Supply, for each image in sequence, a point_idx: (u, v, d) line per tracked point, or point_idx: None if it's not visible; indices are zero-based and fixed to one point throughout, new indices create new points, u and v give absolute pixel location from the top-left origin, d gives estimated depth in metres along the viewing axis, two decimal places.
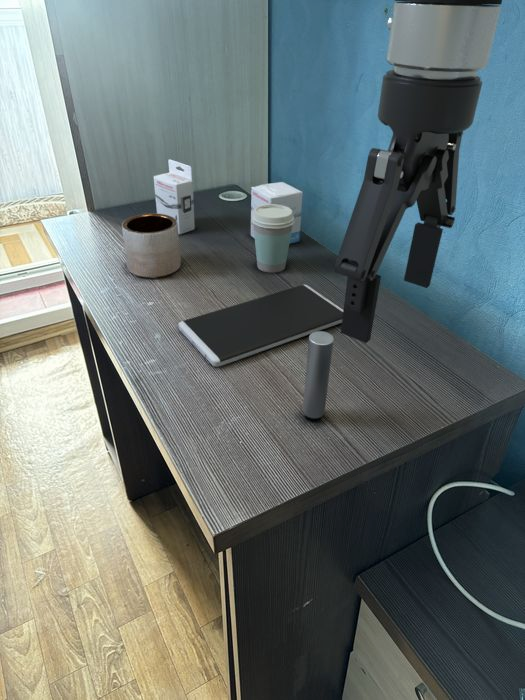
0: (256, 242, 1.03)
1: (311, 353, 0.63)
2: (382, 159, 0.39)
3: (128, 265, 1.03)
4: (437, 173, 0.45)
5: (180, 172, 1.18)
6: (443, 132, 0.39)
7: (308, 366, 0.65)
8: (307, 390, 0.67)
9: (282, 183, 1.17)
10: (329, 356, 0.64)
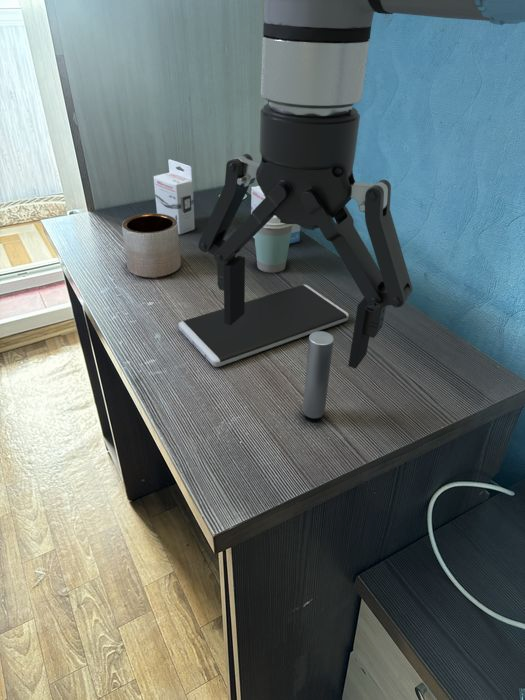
0: (256, 242, 1.03)
1: (311, 353, 0.63)
2: None
3: (128, 265, 1.03)
4: None
5: (180, 172, 1.18)
6: (264, 158, 0.40)
7: (308, 366, 0.65)
8: (307, 390, 0.67)
9: None
10: (329, 356, 0.64)
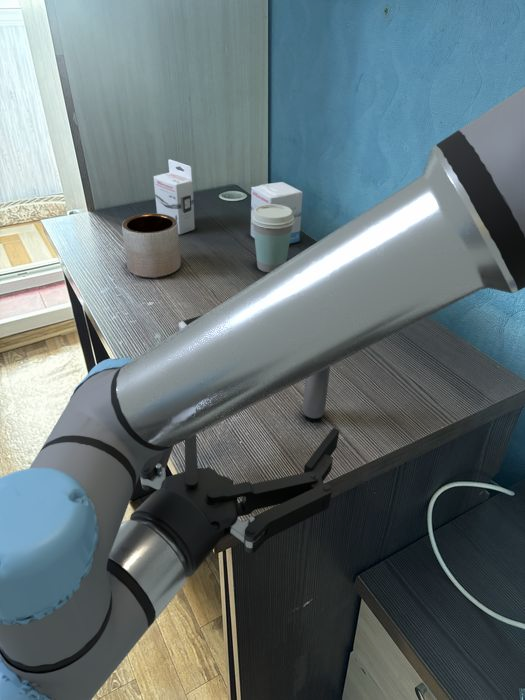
0: (256, 242, 1.03)
1: None
2: (255, 543, 0.46)
3: (128, 265, 1.03)
4: (197, 471, 0.50)
5: (180, 172, 1.18)
6: (204, 513, 0.45)
7: None
8: (307, 390, 0.67)
9: (282, 183, 1.17)
10: None
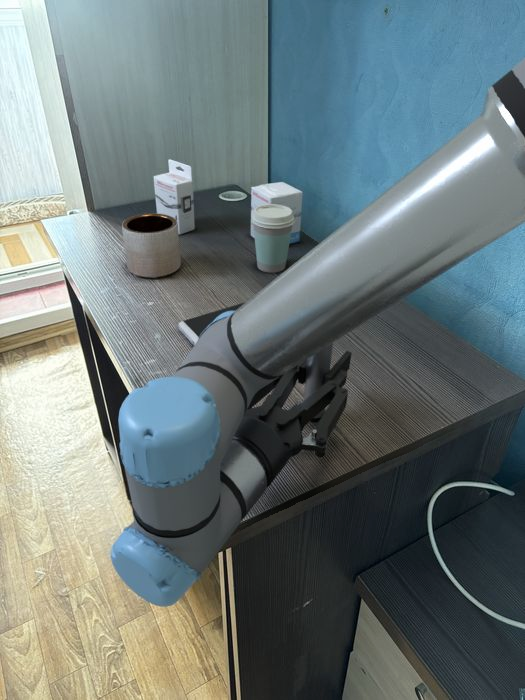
0: (256, 242, 1.03)
1: None
2: None
3: (128, 265, 1.03)
4: (271, 408, 0.59)
5: (180, 172, 1.18)
6: (278, 434, 0.54)
7: (308, 366, 0.65)
8: (307, 390, 0.67)
9: (282, 183, 1.17)
10: (329, 356, 0.64)
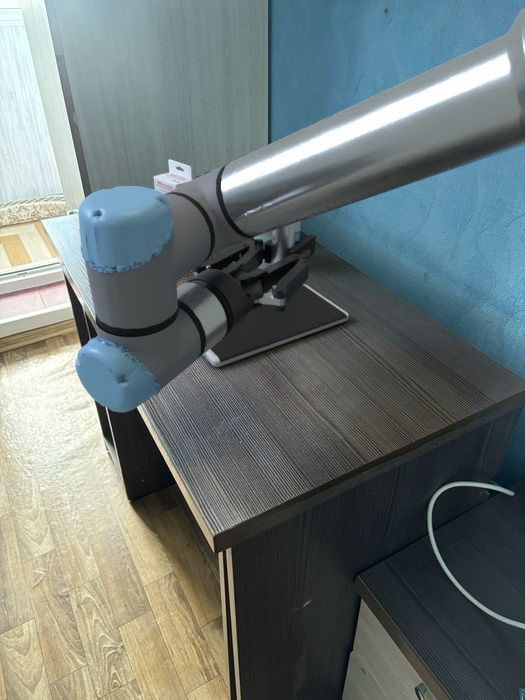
0: None
1: None
2: (285, 300, 0.60)
3: None
4: (235, 271, 0.63)
5: (180, 172, 1.18)
6: (238, 283, 0.58)
7: (273, 242, 0.68)
8: None
9: None
10: (292, 230, 0.67)
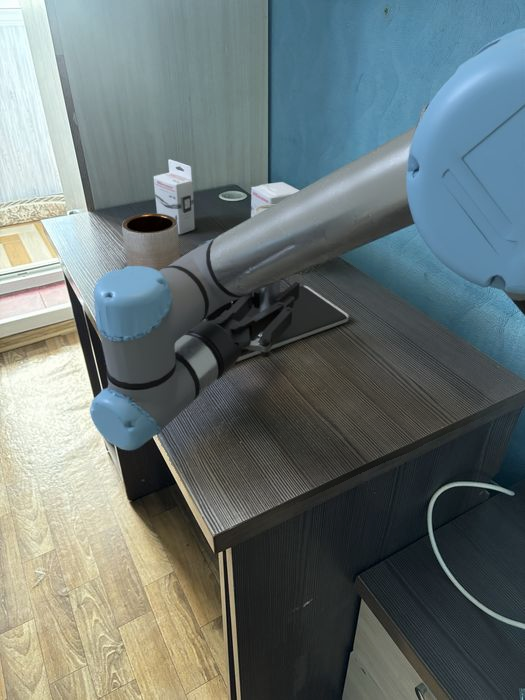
0: None
1: None
2: (269, 347, 0.69)
3: (128, 265, 1.03)
4: (227, 320, 0.72)
5: (180, 172, 1.18)
6: (228, 334, 0.67)
7: (261, 290, 0.78)
8: None
9: (282, 183, 1.17)
10: None
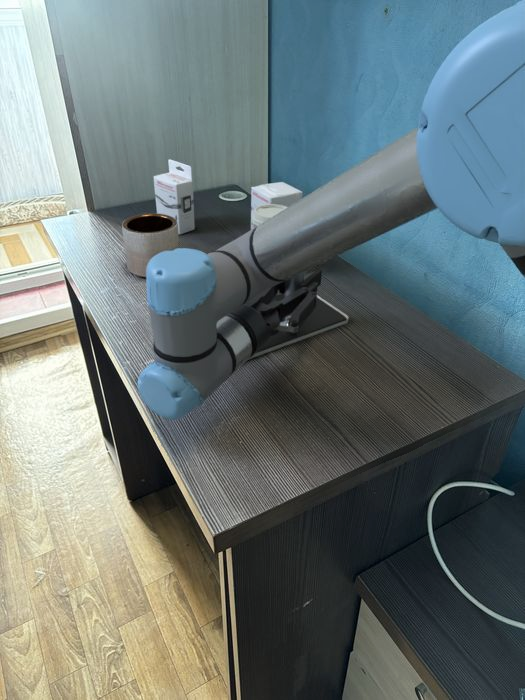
0: None
1: None
2: (298, 328, 0.74)
3: (128, 265, 1.03)
4: (257, 303, 0.77)
5: (180, 172, 1.18)
6: (260, 315, 0.72)
7: None
8: None
9: (282, 183, 1.17)
10: None
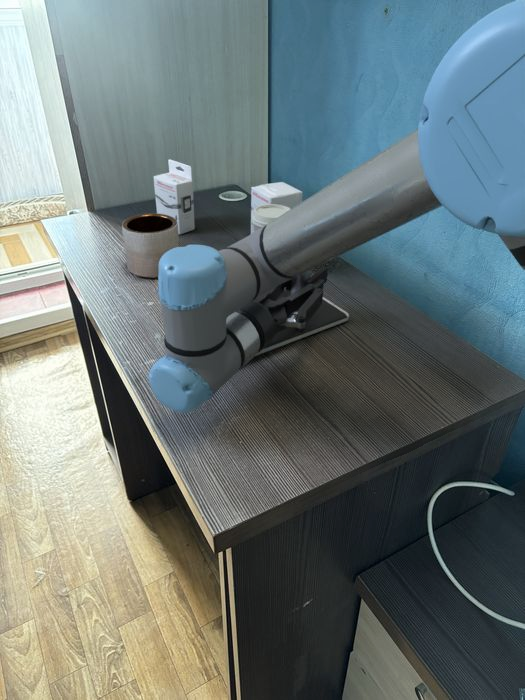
0: None
1: None
2: (305, 324, 0.75)
3: (128, 265, 1.03)
4: (264, 299, 0.78)
5: (180, 172, 1.18)
6: (268, 311, 0.73)
7: None
8: (293, 291, 0.85)
9: (282, 183, 1.17)
10: None
